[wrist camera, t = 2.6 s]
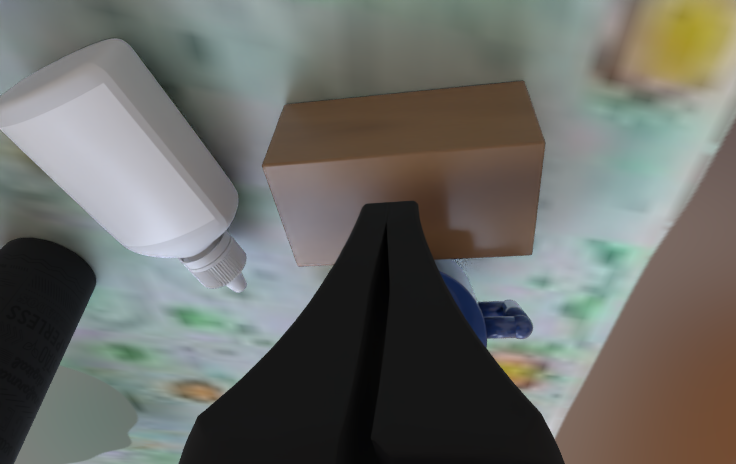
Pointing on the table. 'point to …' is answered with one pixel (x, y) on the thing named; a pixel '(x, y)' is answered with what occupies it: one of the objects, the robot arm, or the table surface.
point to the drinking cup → (35, 328)
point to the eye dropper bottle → (128, 158)
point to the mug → (484, 307)
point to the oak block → (411, 169)
